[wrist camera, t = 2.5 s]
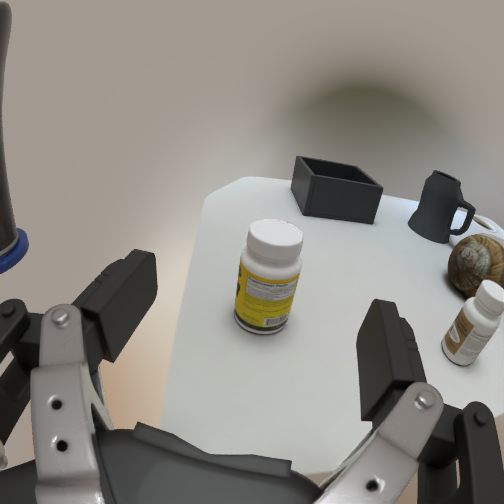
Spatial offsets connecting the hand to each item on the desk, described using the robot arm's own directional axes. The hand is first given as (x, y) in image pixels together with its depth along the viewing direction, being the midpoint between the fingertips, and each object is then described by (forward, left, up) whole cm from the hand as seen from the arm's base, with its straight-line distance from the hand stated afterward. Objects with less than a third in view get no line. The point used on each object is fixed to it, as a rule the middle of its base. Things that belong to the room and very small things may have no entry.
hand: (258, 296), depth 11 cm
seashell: (+28, +23, -11) cm, 38 cm away
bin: (+7, +43, -11) cm, 45 cm away
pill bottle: (+20, +11, -11) cm, 26 cm away
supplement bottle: (0, +11, -11) cm, 16 cm away
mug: (+28, +41, -11) cm, 51 cm away
